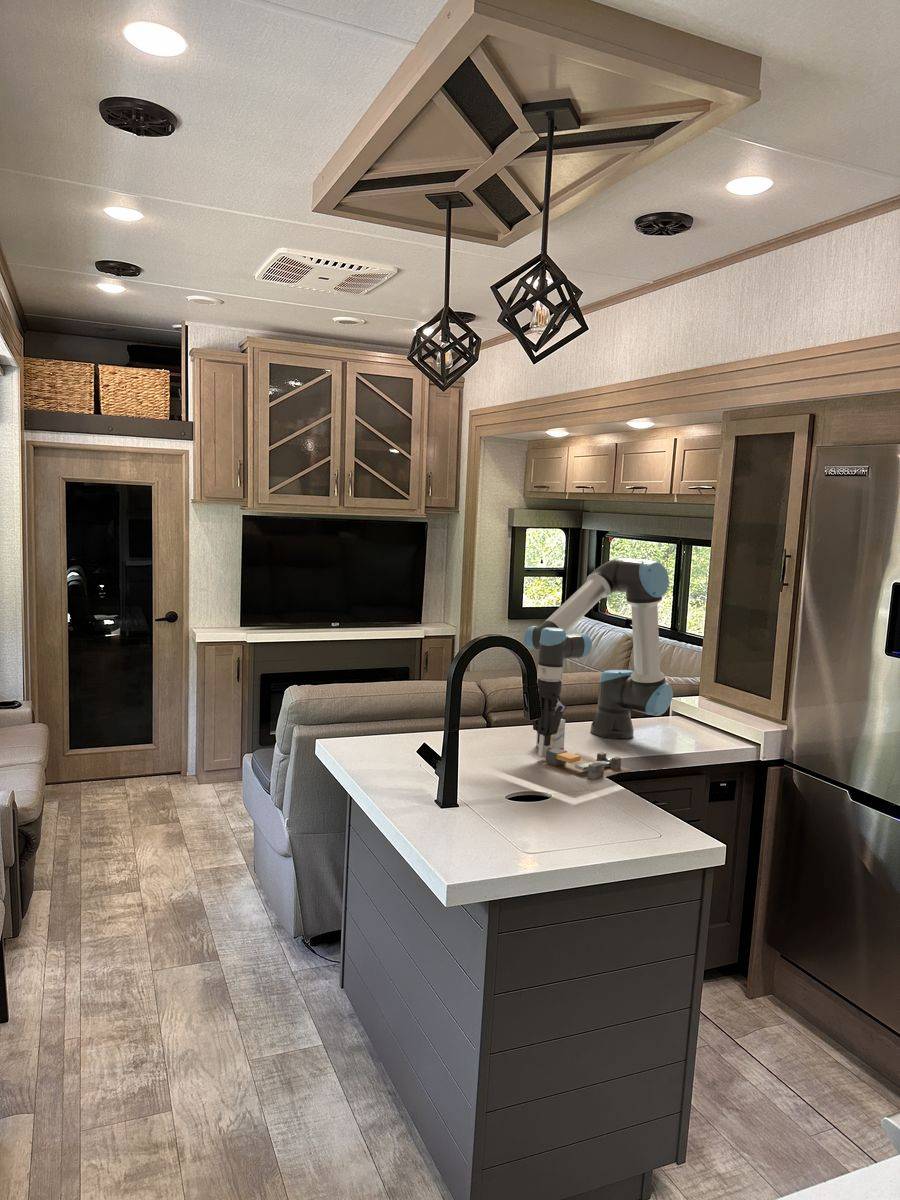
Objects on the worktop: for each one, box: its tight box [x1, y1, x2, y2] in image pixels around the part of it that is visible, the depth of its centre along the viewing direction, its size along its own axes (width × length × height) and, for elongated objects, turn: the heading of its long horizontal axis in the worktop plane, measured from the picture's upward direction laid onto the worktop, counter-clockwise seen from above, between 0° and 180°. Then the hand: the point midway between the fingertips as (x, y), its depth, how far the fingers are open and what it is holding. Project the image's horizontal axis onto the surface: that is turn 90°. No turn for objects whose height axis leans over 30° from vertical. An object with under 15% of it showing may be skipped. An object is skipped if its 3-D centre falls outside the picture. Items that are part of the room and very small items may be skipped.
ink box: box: [535, 718, 566, 750], centre depth 266 cm, size 9×5×12 cm, turn 33°
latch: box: [545, 748, 581, 766], centre depth 248 cm, size 5×9×4 cm, turn 45°
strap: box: [575, 757, 612, 771], centre depth 247 cm, size 16×3×2 cm, turn 135°
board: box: [537, 751, 631, 782], centre depth 250 cm, size 20×20×5 cm
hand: (542, 755), depth 253 cm, fingers closed
